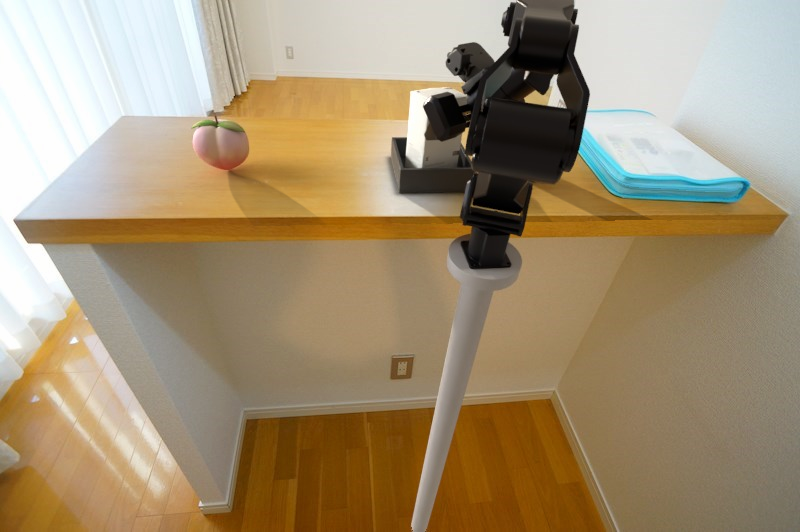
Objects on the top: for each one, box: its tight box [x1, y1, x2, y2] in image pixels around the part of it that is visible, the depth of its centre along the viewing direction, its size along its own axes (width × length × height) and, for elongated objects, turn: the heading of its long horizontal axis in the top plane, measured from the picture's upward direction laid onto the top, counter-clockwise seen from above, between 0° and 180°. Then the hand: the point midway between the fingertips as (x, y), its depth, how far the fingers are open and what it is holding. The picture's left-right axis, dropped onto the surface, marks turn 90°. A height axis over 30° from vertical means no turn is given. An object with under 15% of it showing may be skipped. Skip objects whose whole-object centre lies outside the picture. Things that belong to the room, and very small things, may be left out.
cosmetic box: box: [405, 86, 468, 168], centre depth 73 cm, size 8×6×15 cm
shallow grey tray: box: [390, 136, 476, 194], centre depth 77 cm, size 13×13×4 cm
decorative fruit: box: [191, 115, 250, 171], centre depth 73 cm, size 9×8×10 cm
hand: (445, 131), depth 71 cm, fingers open, 9 cm apart
